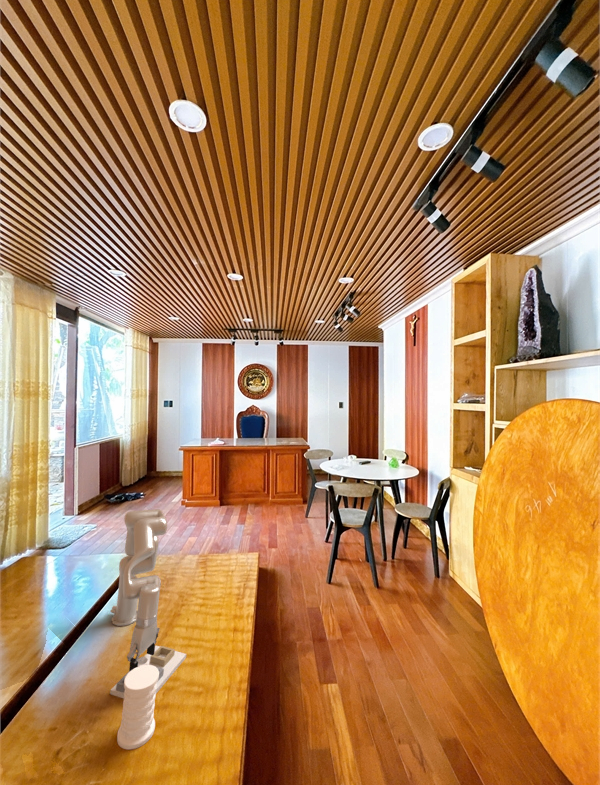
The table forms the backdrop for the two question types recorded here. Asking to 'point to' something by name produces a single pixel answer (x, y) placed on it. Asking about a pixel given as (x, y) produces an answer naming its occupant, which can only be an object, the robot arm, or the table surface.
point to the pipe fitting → (143, 661)
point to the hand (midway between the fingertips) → (142, 662)
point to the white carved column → (138, 707)
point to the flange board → (163, 660)
